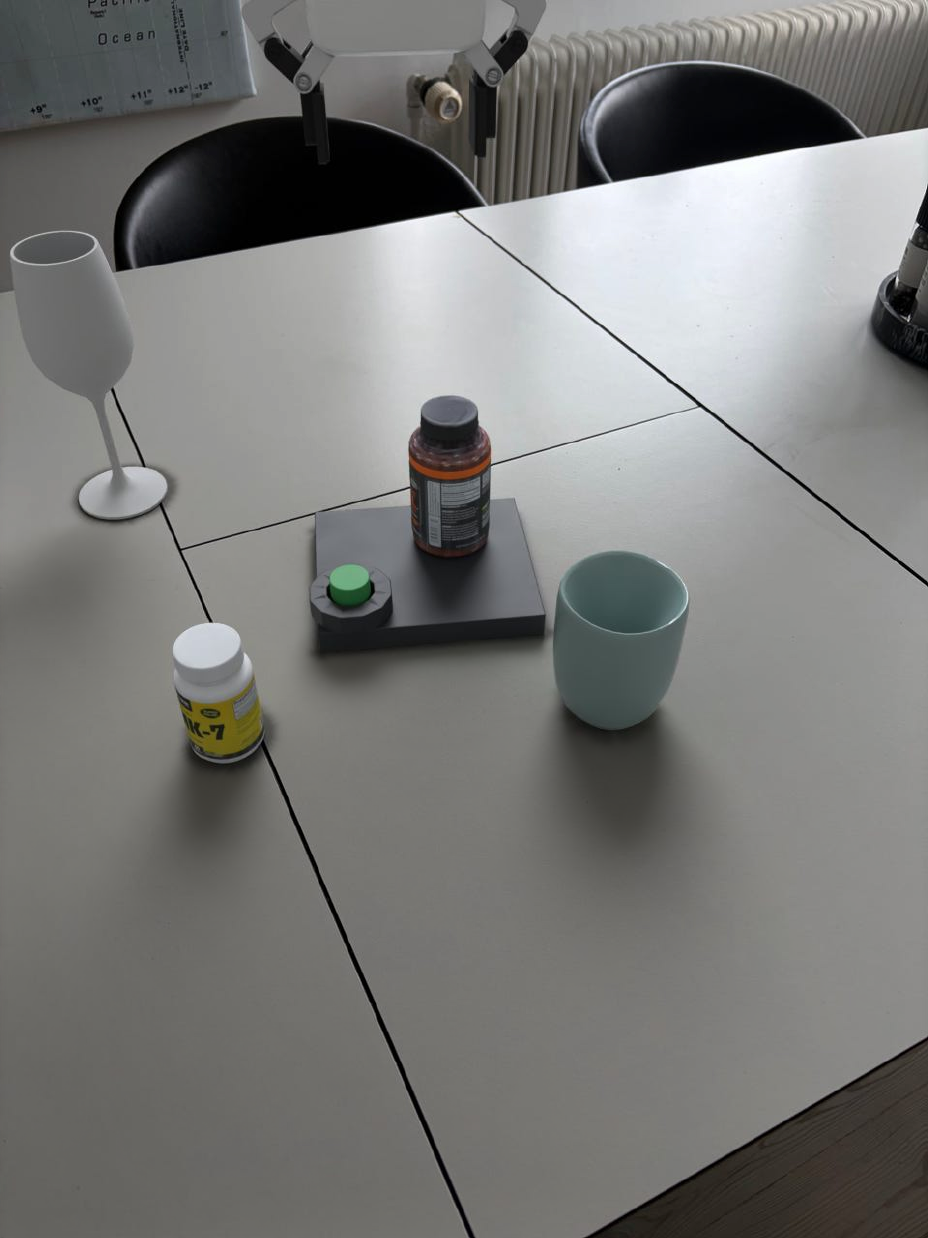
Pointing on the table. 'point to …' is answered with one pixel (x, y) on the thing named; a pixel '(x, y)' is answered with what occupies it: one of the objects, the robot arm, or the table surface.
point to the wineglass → (82, 349)
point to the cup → (617, 637)
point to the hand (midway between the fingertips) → (400, 153)
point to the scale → (423, 582)
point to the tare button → (350, 585)
